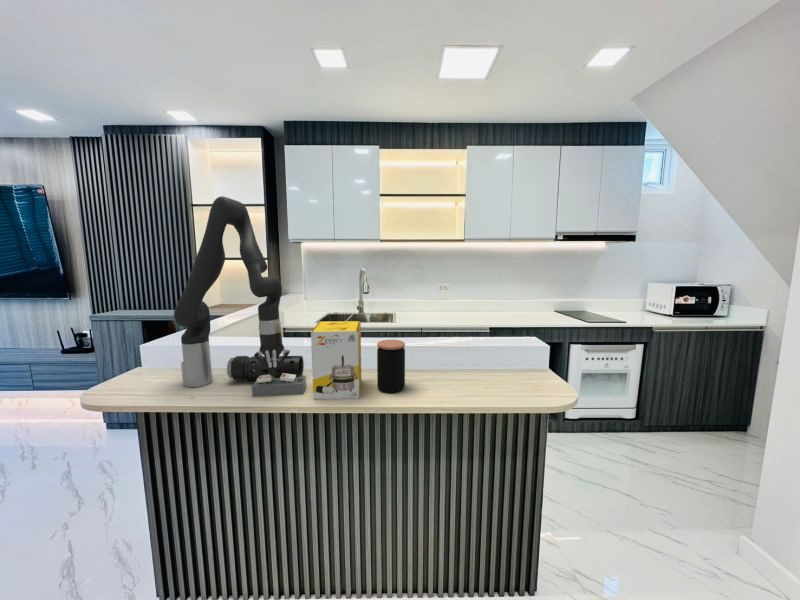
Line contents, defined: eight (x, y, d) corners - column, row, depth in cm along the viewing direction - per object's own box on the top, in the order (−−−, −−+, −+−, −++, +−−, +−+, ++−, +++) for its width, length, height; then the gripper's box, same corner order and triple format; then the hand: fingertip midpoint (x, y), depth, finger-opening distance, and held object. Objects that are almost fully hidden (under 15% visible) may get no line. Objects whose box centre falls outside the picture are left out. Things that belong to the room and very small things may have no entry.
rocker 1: (257, 382, 121) (256, 379, 121) (260, 378, 125) (259, 375, 125) (271, 381, 122) (270, 377, 122) (273, 376, 126) (273, 373, 126)
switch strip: (252, 396, 120) (251, 385, 120) (258, 388, 127) (257, 377, 127) (303, 394, 123) (302, 382, 122) (306, 386, 130) (305, 375, 129)
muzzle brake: (298, 384, 132) (297, 359, 131) (226, 385, 130) (224, 360, 129) (304, 375, 141) (303, 352, 140) (237, 376, 140) (235, 353, 138)
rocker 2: (279, 379, 122) (280, 376, 122) (282, 375, 126) (282, 372, 126) (293, 382, 123) (294, 378, 123) (295, 377, 127) (296, 374, 127)
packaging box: (313, 399, 118) (310, 331, 114) (321, 381, 134) (319, 321, 130) (359, 398, 119) (357, 331, 115) (361, 380, 135) (360, 321, 131)
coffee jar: (409, 385, 131) (409, 341, 128) (397, 396, 121) (397, 348, 118) (385, 380, 135) (385, 338, 132) (372, 390, 126) (371, 345, 123)
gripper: (248, 334, 117) (252, 381, 119) (286, 332, 118) (290, 378, 121) (254, 329, 124) (258, 373, 127) (290, 327, 126) (294, 371, 128)
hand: (274, 375), depth 124 cm, fingers closed
